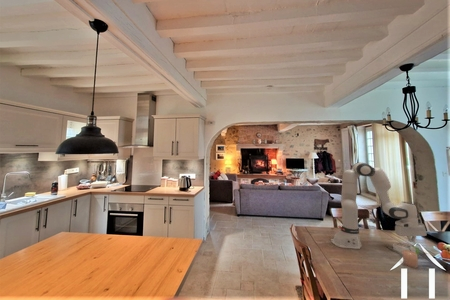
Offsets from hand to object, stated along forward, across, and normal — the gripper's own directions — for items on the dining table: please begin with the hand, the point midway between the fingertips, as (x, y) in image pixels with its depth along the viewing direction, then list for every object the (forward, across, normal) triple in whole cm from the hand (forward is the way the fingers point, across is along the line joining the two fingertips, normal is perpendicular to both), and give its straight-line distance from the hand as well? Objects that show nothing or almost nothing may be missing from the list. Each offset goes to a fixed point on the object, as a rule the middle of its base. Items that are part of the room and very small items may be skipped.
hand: (411, 241), depth 136 cm
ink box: (+5, -1, 0) cm, 6 cm away
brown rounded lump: (+8, +17, +16) cm, 24 cm away
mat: (+8, +6, 0) cm, 10 cm away
